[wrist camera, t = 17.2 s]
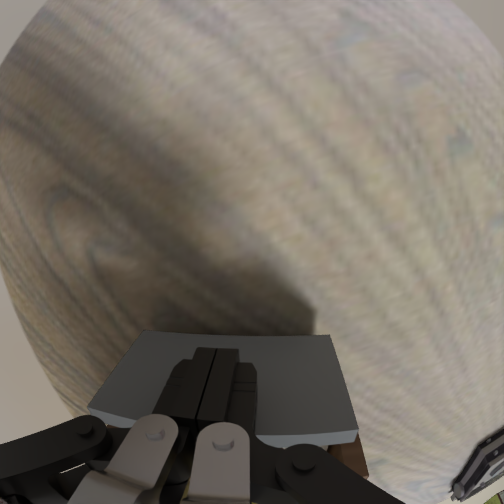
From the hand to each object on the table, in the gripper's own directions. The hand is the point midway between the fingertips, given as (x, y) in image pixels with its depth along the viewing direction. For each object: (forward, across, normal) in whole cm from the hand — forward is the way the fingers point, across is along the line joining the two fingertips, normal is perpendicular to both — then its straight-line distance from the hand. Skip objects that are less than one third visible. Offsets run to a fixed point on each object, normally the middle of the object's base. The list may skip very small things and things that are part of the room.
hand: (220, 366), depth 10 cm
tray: (+4, 0, +8) cm, 9 cm away
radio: (+6, -43, +29) cm, 52 cm away
